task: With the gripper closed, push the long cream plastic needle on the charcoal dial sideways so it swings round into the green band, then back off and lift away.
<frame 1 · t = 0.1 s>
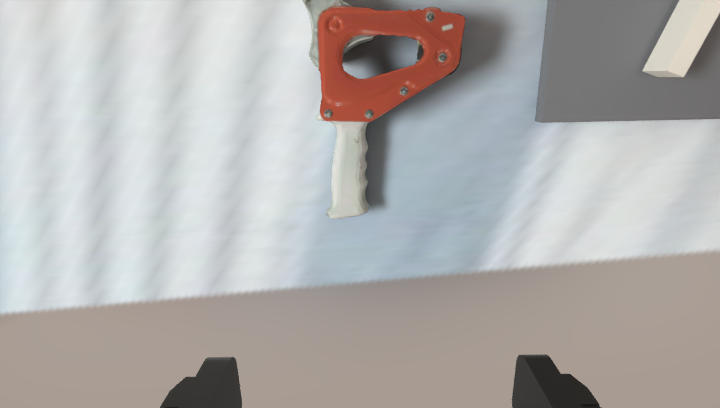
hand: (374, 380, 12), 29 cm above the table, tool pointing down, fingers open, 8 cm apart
tape dispenser: (362, 92, 38), on the table
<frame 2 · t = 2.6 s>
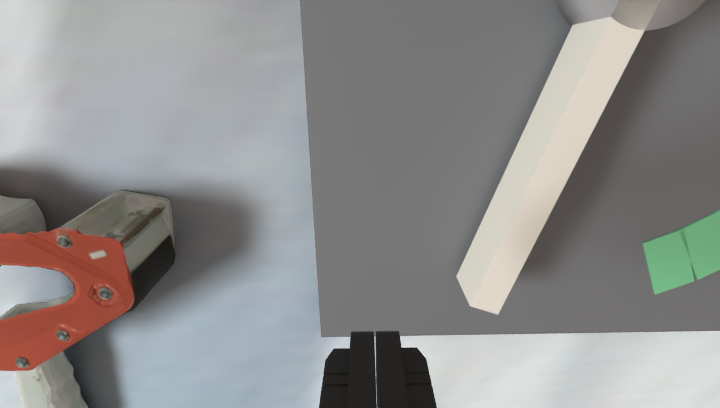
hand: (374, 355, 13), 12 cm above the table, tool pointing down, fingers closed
tape dispenser: (67, 290, 26), on the table
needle: (556, 125, 19), point 3 cm above the table, hinge at -20.0°
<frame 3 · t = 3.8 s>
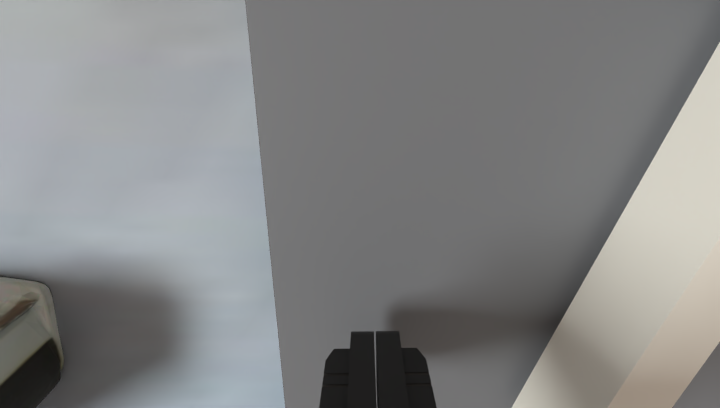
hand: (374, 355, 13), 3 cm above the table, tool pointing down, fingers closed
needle: (719, 179, 10), point 3 cm above the table, hinge at -20.0°
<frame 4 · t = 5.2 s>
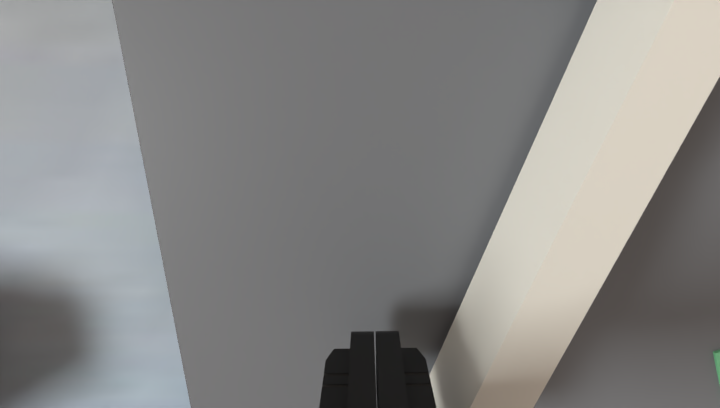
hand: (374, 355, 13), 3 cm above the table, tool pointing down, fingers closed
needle: (578, 173, 10), point 3 cm above the table, hinge at -19.0°, touching gripper
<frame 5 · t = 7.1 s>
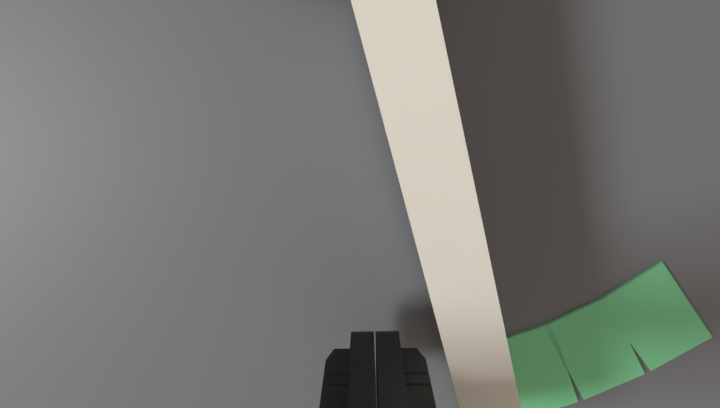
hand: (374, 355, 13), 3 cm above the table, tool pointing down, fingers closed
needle: (426, 166, 10), point 3 cm above the table, hinge at 14.6°, touching gripper
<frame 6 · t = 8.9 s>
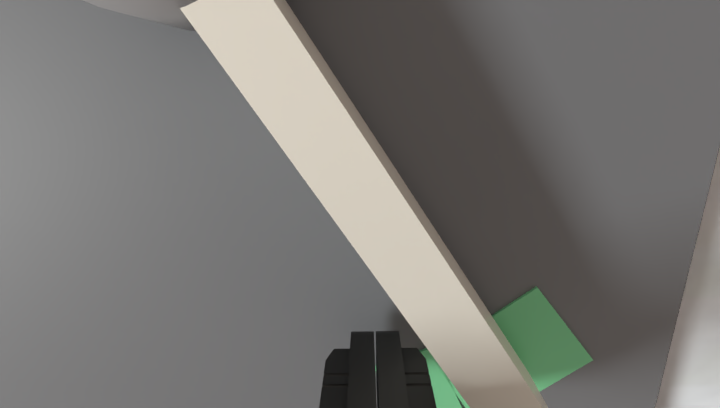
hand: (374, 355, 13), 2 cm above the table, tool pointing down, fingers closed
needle: (351, 164, 10), point 3 cm above the table, hinge at 32.5°, touching gripper
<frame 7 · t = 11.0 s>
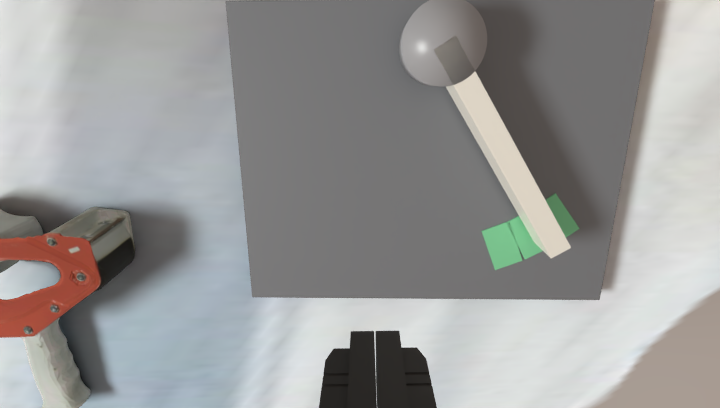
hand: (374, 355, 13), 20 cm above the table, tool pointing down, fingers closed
tape dispenser: (61, 282, 36), on the table
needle: (490, 135, 27), point 3 cm above the table, hinge at 32.7°
dial plate: (432, 49, 29), on the table
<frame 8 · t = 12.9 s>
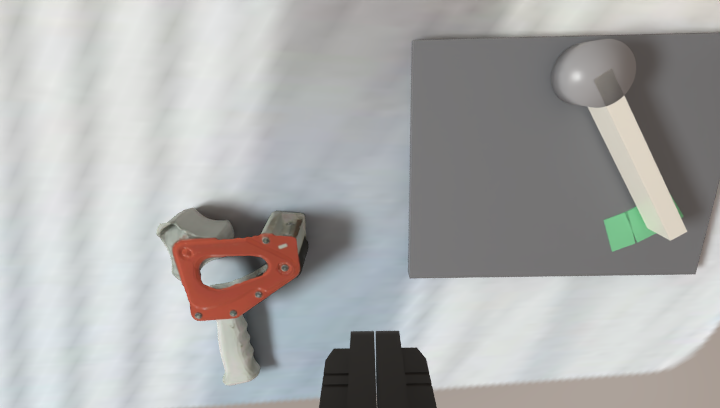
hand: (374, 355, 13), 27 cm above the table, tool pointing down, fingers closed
tape dispenser: (239, 275, 43), on the table
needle: (624, 144, 34), point 3 cm above the table, hinge at 32.7°
dial plate: (570, 74, 36), on the table
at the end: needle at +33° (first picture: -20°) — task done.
